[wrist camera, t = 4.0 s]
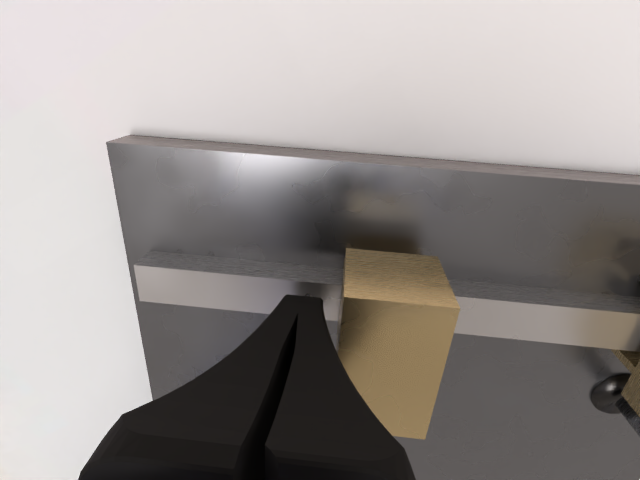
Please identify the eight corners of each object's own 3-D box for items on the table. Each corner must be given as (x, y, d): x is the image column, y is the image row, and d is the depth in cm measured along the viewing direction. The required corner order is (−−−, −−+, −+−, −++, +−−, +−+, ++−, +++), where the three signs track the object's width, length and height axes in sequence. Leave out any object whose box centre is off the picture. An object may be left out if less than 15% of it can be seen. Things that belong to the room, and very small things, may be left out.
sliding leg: (400, 385, 16) (414, 479, 13) (332, 377, 16) (325, 469, 13) (430, 240, 13) (460, 308, 10) (346, 233, 13) (343, 297, 10)
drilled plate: (592, 494, 21) (675, 643, 16) (176, 444, 22) (119, 566, 17) (780, 186, 13) (1072, 268, 8) (129, 135, 14) (-5, 176, 9)
